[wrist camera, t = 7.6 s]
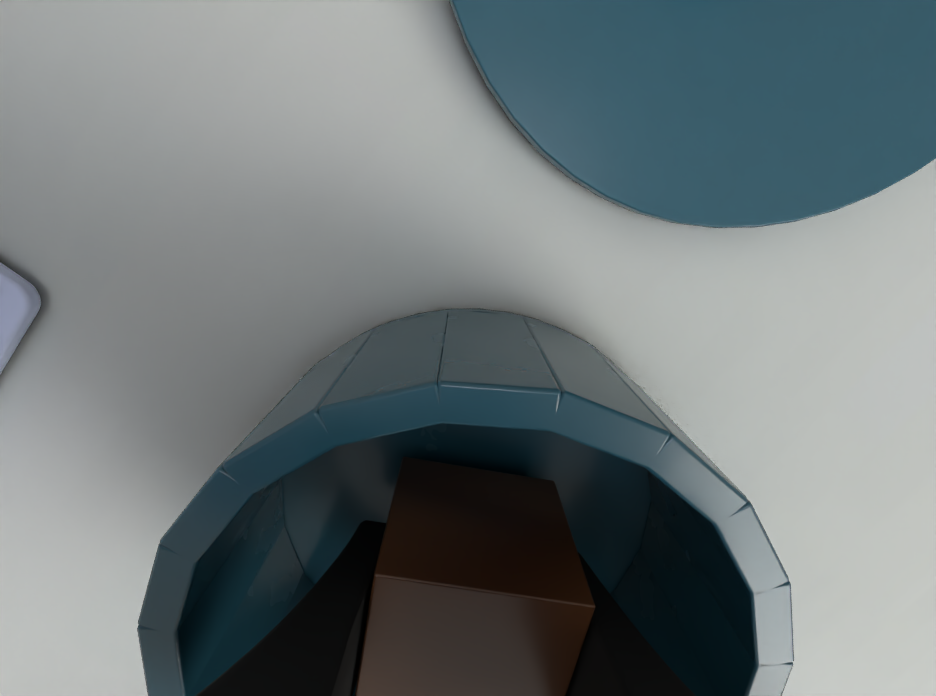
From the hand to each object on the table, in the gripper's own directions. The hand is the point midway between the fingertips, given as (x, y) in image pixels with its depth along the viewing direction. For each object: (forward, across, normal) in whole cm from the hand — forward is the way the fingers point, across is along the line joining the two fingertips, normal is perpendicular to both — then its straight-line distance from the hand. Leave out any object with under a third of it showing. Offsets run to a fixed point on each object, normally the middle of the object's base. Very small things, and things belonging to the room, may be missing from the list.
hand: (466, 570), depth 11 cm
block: (+1, 0, 0) cm, 1 cm away
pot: (+3, 0, 0) cm, 3 cm away
